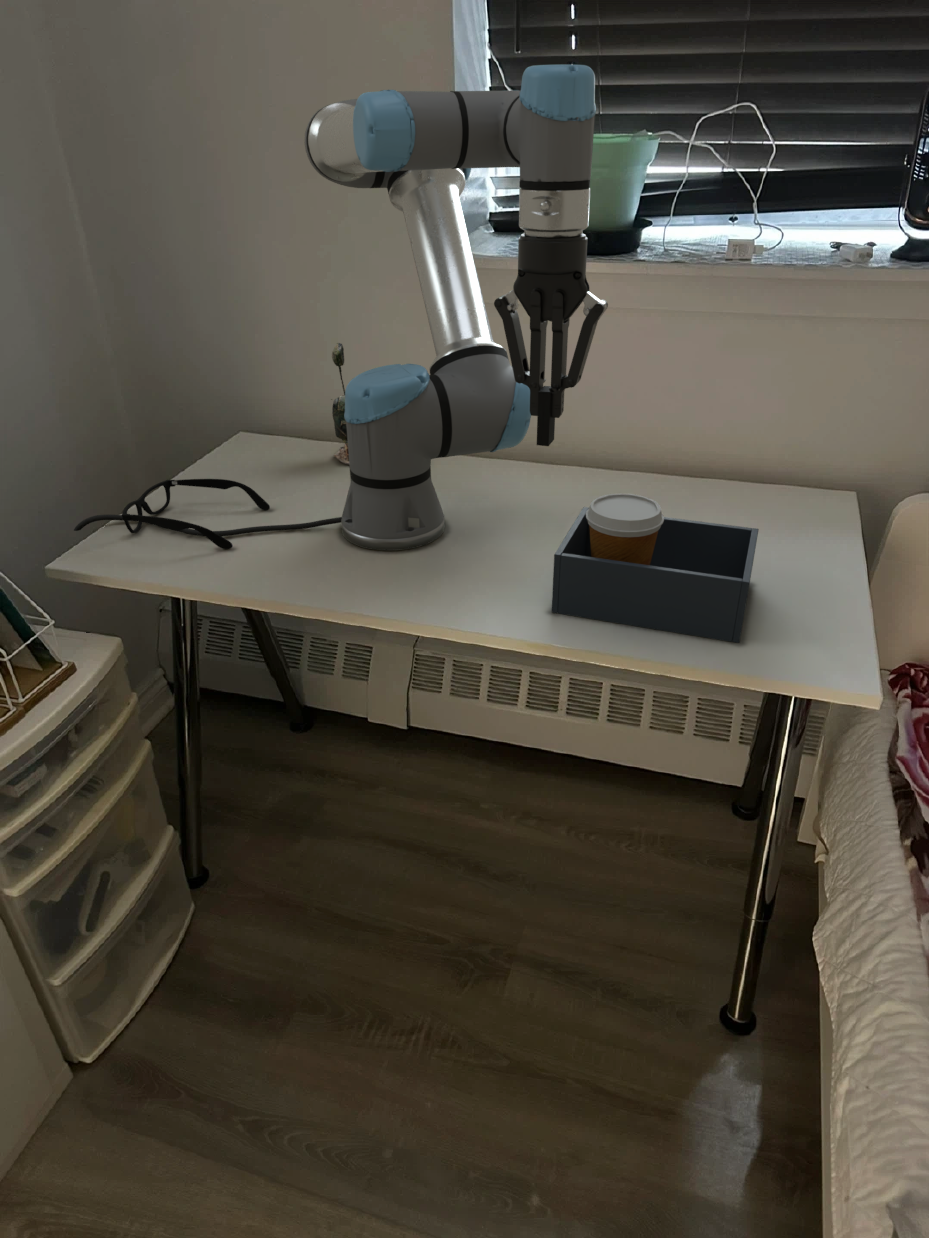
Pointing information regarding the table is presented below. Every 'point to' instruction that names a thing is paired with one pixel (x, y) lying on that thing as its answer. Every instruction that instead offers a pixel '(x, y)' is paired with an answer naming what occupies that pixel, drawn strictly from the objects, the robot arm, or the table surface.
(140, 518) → the glasses
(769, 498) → the table surface
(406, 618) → the table surface
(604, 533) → the disposable coffee cup
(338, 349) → the plant with pod
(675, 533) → the bin
